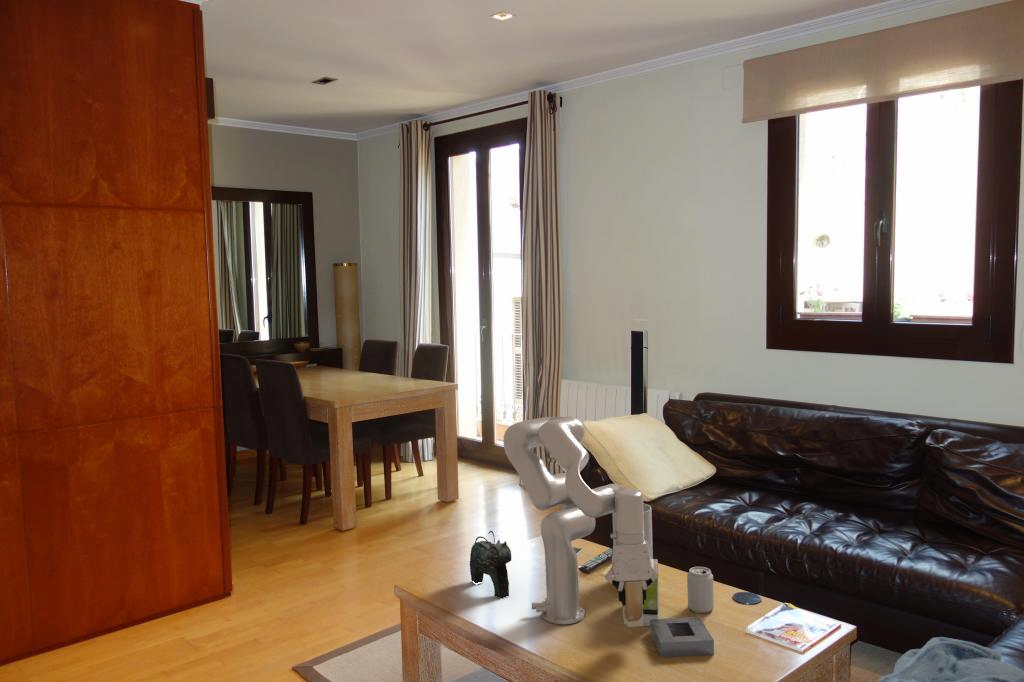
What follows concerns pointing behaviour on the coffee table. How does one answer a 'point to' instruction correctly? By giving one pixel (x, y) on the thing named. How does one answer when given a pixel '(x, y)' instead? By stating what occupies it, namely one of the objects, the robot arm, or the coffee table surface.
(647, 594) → the tea box
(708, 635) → the holder
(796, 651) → the coffee table surface
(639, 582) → the skincare box
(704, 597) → the can
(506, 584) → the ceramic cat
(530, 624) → the coffee table surface
